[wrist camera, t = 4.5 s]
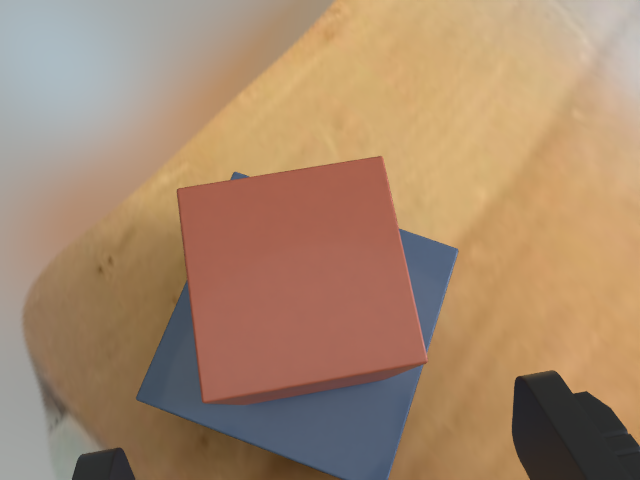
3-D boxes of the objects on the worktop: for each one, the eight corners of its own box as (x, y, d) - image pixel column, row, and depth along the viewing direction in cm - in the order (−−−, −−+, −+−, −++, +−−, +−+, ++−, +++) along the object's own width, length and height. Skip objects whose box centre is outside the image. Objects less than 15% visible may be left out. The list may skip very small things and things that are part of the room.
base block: (367, 475, 26) (383, 495, 20) (173, 401, 26) (134, 399, 20) (429, 281, 28) (459, 248, 22) (249, 218, 29) (233, 170, 23)
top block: (386, 379, 21) (429, 362, 13) (243, 405, 20) (201, 404, 13) (358, 243, 22) (383, 154, 14) (224, 265, 22) (176, 187, 14)
